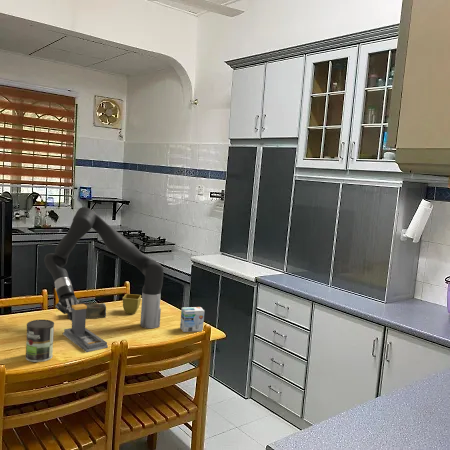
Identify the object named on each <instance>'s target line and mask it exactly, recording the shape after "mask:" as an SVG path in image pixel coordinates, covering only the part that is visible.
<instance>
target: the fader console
mask: <svg viewBox="0 0 450 450" xmlns="http://www.w3.org/2000/svg"><path fill="white" fill-rule="evenodd" d="M71 331H72V327H71V328H69V327H68V328H64V332H62V335H63V336H64V337H65V338H67V339H68V340H70V341H71V343H73V344H75V345H76V346H77V347H79V348H80V349H81V350H82V351H84V352H85V353H88V352H93V351H98V350H103V349H107V348H109V345H108V342H107V341H106V340H104V339H102V338H101V337H100V336H98V335H97V334H96V333H94V332H93V331H91V330H89V329H88V328H86V327H85V334H80V335H76V334H74V333H73V332H71Z"/></svg>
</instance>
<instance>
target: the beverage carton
mask: <svg viewBox="0 0 450 450" xmlns="http://www.w3.org/2000/svg"><path fill="white" fill-rule="evenodd" d="M81 304H85V305H86V306H87V309H86V319H103V318H106V315H107V307H106V306H107V305H106V303H105V302H100V303H99V302H97V303H96V302H95V303H94V302H93V303H92V302H89V303H83V302H82V303H81ZM75 305H76V303H75ZM67 319H68V320H70V319H69V315H68V314H67Z"/></svg>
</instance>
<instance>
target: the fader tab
mask: <svg viewBox="0 0 450 450" xmlns="http://www.w3.org/2000/svg"><path fill="white" fill-rule="evenodd" d="M86 309H87V306H86V305H85V304H77V305H72V321H71V328H72V331H71V332H73V333H74V334H76V335H80V334H85V328H86V323H87V322H86V321H87V320H86V319H87V318H86Z"/></svg>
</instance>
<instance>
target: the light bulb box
mask: <svg viewBox="0 0 450 450" xmlns="http://www.w3.org/2000/svg"><path fill="white" fill-rule="evenodd" d="M180 310H181V311H180V322H179V328H180V330H181V331H182V332H184V333H187V332H188V333H189V332H190V333H191V332H192V333H193V332H203V331H204V321H205V309H203V307H201V306H193V307H192V306H191V307H190V306H189V307H187V306H186V307H181V309H180ZM202 330H203V331H202Z"/></svg>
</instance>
